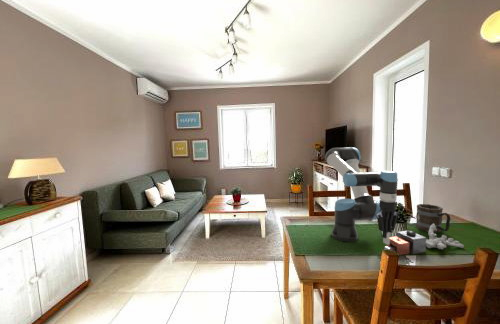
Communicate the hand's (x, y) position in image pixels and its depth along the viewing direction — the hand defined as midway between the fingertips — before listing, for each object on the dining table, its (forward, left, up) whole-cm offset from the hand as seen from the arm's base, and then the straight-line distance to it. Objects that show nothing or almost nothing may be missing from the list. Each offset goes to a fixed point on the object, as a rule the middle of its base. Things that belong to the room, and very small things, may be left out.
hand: (386, 243), depth 117 cm
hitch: (+8, +6, -5) cm, 11 cm away
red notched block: (+6, +4, -5) cm, 8 cm away
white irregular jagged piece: (+26, +22, -5) cm, 35 cm away
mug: (+28, +46, -5) cm, 54 cm away
